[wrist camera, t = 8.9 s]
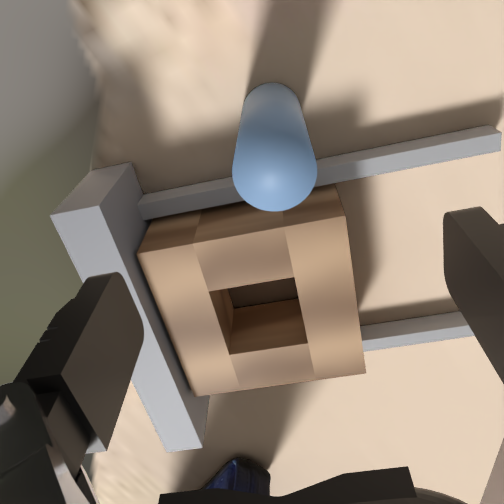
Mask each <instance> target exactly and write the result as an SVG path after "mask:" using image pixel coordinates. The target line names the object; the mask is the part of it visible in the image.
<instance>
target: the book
mask: <svg viewBox="0 0 504 504" xmlns="http://www.w3.org/2000/svg"><path fill="white" fill-rule="evenodd" d="M211 488H222V489H229V490H235V491H242V492H248V493H255V494H261V495H267V496H270V474H269V472H268V471H267V470H266V469H264V468H262V467H260V466H258V465H256V464H254V463H253V462H251V461H249V460H245V459H241V458H236V459H233V460H231V461H229V462H228V463H227V464H225V465H224V466H223V467H222V468H221V469H220V470H219V471H218V473H217V474H216V475H215V476H214V477H213V478H212V479H211V480H210V482H209V483H207V484H206V485H205V486H204V487H203V488H202V489H211ZM202 489H201V490H202Z"/></svg>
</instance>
